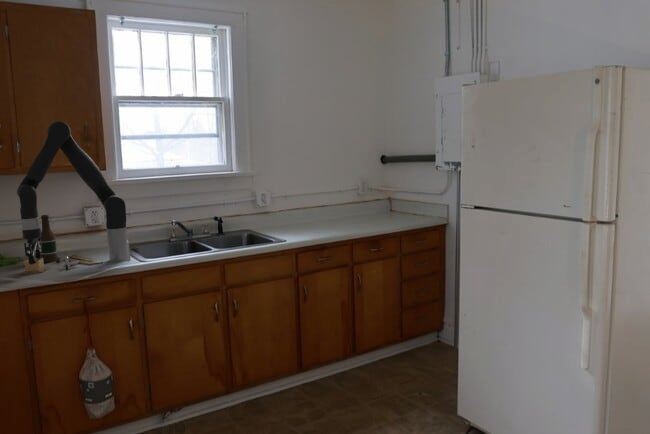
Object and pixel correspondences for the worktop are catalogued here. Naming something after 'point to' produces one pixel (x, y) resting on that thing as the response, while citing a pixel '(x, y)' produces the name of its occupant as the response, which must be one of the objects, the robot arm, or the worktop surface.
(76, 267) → the charcoal stand
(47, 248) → the beer bottle
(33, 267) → the brown slotted box
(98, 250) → the worktop surface
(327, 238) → the worktop surface
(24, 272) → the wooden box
